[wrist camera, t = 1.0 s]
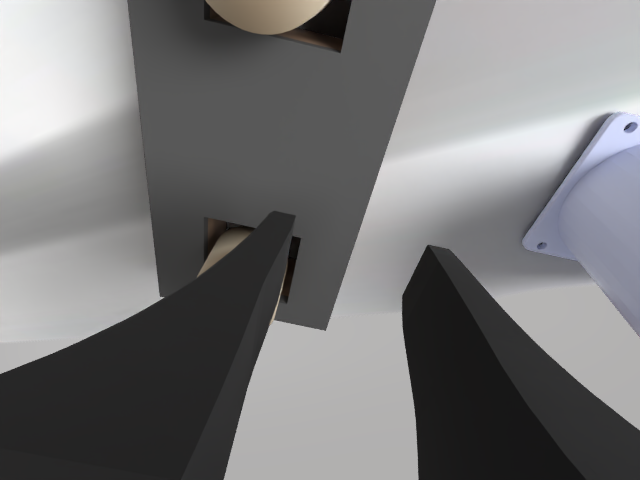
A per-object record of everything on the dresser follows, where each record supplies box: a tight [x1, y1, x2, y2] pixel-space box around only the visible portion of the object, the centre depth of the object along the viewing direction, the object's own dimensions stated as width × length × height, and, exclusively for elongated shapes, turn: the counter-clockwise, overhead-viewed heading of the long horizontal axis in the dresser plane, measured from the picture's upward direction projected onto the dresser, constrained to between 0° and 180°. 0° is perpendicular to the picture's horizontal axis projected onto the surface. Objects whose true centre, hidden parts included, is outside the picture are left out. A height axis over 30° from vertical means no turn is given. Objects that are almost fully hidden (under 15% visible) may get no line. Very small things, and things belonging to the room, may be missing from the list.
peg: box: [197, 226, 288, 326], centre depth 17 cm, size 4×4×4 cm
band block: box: [128, 0, 436, 331], centre depth 16 cm, size 10×21×4 cm, turn 168°
